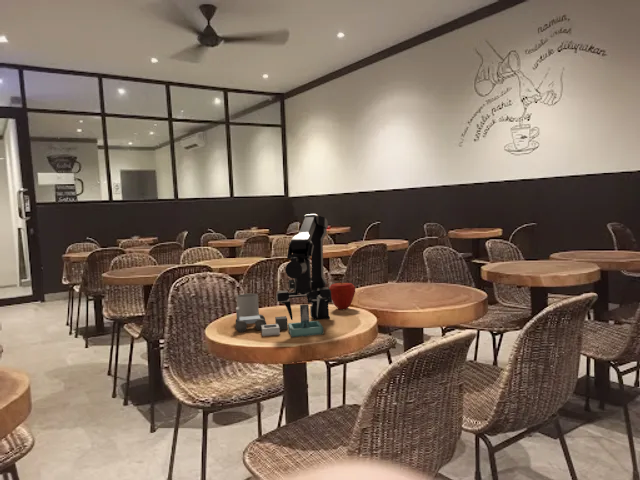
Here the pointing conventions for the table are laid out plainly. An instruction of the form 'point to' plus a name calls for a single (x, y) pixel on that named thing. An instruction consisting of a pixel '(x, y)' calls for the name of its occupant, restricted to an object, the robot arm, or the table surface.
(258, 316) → the trolley
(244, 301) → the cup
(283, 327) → the dark grey cube
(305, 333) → the tray
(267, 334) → the socket
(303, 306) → the pin
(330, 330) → the table surface
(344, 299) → the apple
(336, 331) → the table surface
